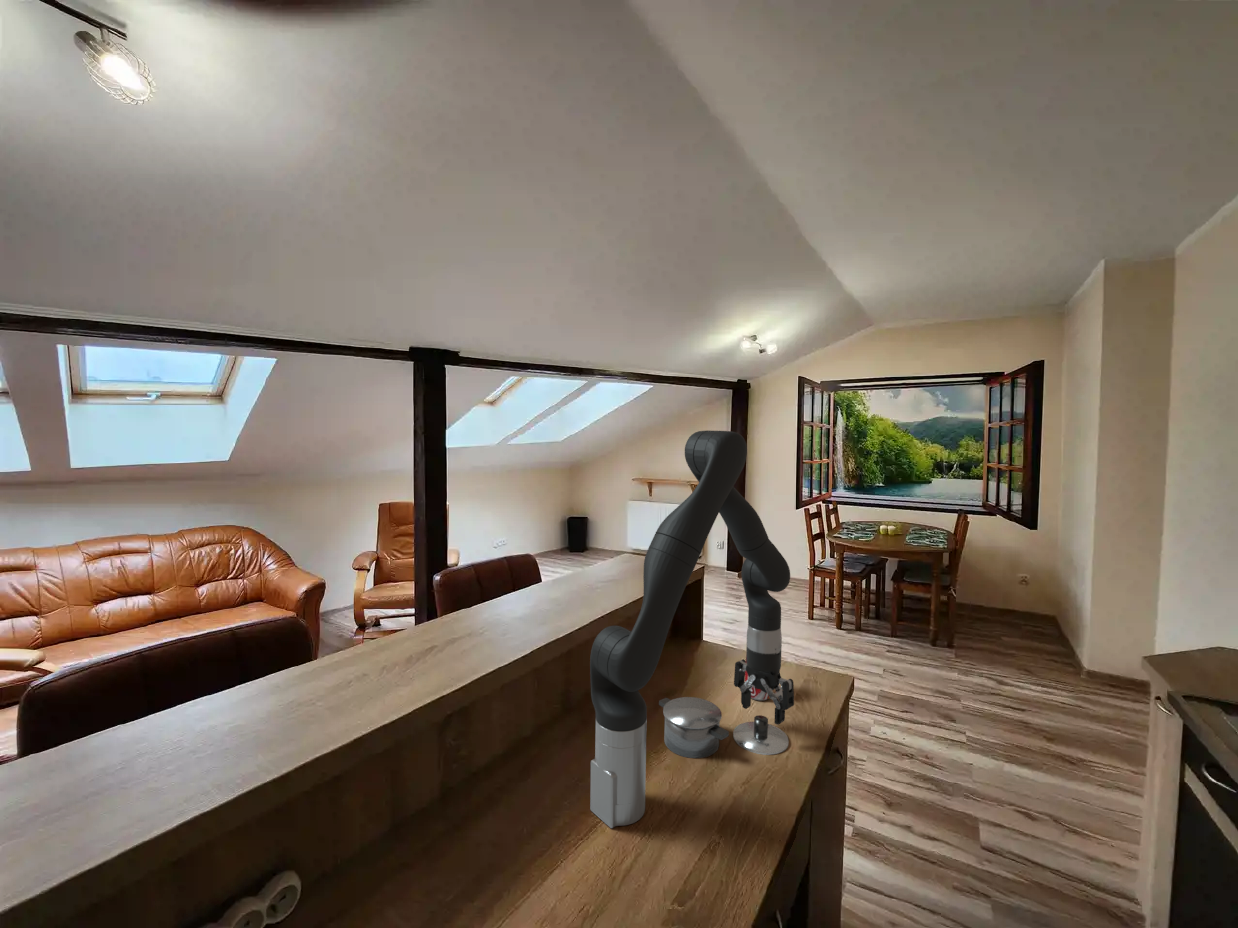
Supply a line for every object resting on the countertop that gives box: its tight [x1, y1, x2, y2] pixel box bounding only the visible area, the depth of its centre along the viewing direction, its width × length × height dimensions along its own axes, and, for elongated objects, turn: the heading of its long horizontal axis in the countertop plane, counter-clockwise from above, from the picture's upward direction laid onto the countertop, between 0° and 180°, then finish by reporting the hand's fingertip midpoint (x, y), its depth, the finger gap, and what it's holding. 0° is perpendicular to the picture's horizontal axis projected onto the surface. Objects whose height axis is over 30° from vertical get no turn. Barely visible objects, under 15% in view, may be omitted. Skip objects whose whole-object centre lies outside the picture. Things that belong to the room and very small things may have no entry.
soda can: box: [744, 671, 770, 702], centre depth 143 cm, size 7×7×12 cm
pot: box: [658, 696, 730, 759], centre depth 122 cm, size 13×18×7 cm
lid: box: [732, 714, 790, 756], centre depth 124 cm, size 12×12×5 cm
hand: (762, 714), depth 124 cm, fingers open, 8 cm apart
